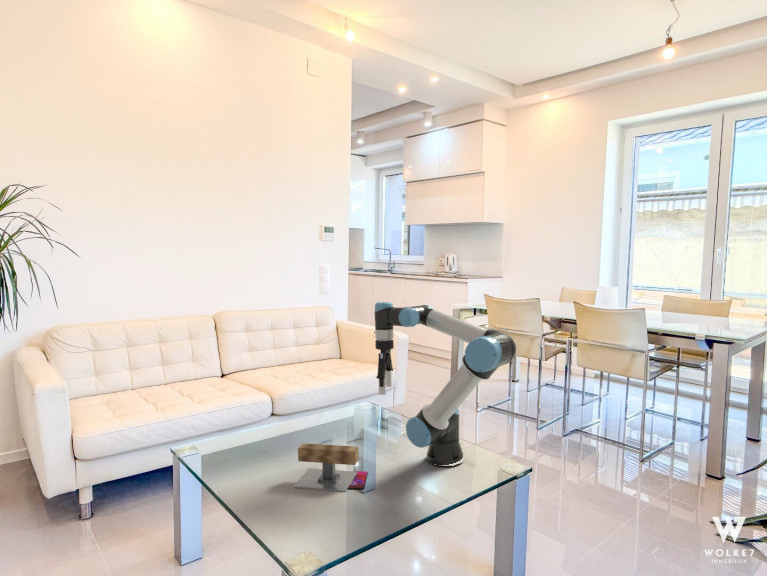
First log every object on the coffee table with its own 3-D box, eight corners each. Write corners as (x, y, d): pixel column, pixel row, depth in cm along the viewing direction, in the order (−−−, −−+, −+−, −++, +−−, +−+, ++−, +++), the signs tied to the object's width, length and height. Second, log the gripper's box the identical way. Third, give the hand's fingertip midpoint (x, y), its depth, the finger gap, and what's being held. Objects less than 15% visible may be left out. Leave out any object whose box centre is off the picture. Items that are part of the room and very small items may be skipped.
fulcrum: (357, 473, 186) (357, 454, 186) (346, 492, 171) (345, 470, 170) (309, 469, 190) (308, 450, 190) (293, 487, 175) (292, 467, 175)
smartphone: (368, 471, 187) (364, 488, 172) (368, 473, 187) (364, 490, 172) (348, 471, 188) (342, 487, 173) (348, 473, 188) (342, 490, 173)
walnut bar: (298, 461, 180) (297, 448, 180) (303, 456, 185) (302, 443, 185) (355, 465, 175) (354, 451, 175) (358, 459, 180) (358, 446, 180)
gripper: (381, 335, 212) (382, 383, 213) (368, 343, 188) (370, 397, 188) (398, 335, 211) (399, 383, 211) (387, 343, 186) (389, 398, 187)
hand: (385, 390), depth 200 cm, fingers open, 13 cm apart
